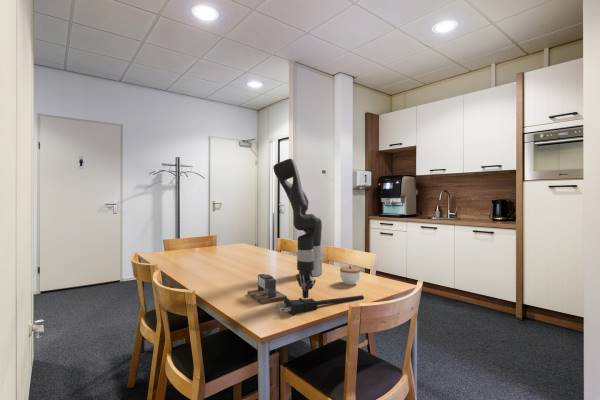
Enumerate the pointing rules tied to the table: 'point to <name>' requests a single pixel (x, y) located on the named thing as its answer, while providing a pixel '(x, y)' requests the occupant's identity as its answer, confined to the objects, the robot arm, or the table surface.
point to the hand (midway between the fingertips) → (305, 297)
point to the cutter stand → (263, 296)
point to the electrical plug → (310, 304)
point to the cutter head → (264, 281)
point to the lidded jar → (350, 274)
